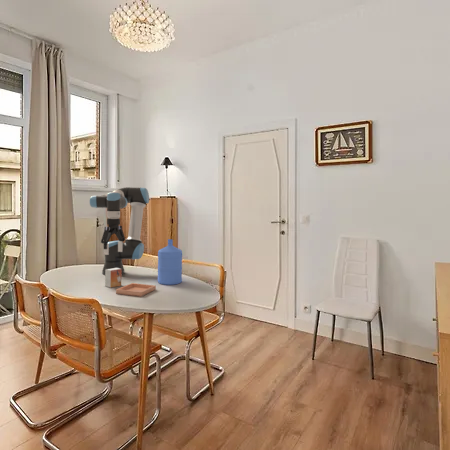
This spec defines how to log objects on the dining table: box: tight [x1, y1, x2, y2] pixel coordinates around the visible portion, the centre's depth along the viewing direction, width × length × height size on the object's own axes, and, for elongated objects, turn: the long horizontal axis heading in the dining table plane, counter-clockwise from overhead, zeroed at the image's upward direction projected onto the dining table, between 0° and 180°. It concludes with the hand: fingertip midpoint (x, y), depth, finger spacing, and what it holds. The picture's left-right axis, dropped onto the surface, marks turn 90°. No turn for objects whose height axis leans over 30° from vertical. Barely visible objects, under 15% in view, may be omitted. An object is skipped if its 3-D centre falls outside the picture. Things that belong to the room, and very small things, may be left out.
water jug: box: [157, 238, 183, 286], centre depth 213 cm, size 16×16×28 cm
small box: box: [104, 268, 123, 288], centre depth 201 cm, size 8×6×10 cm
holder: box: [115, 282, 157, 298], centre depth 190 cm, size 16×16×2 cm
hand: (113, 253), depth 200 cm, fingers open, 13 cm apart
